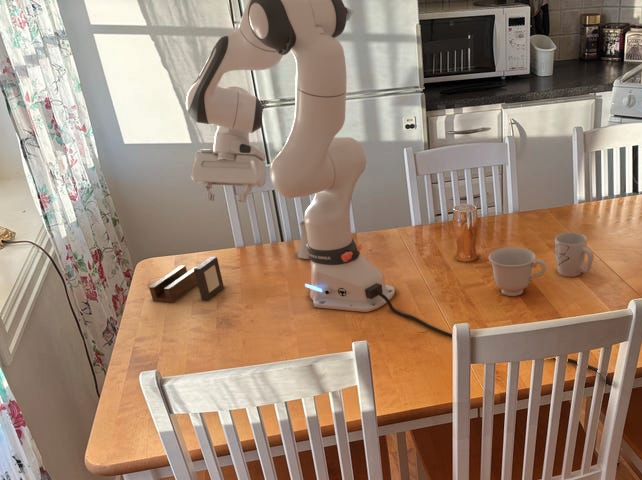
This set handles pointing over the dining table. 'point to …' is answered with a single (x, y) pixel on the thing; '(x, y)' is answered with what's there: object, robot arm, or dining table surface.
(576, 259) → the mug
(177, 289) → the holder
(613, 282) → the dining table surface
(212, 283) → the frame
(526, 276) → the teacup
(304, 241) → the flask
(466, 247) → the beer glass
